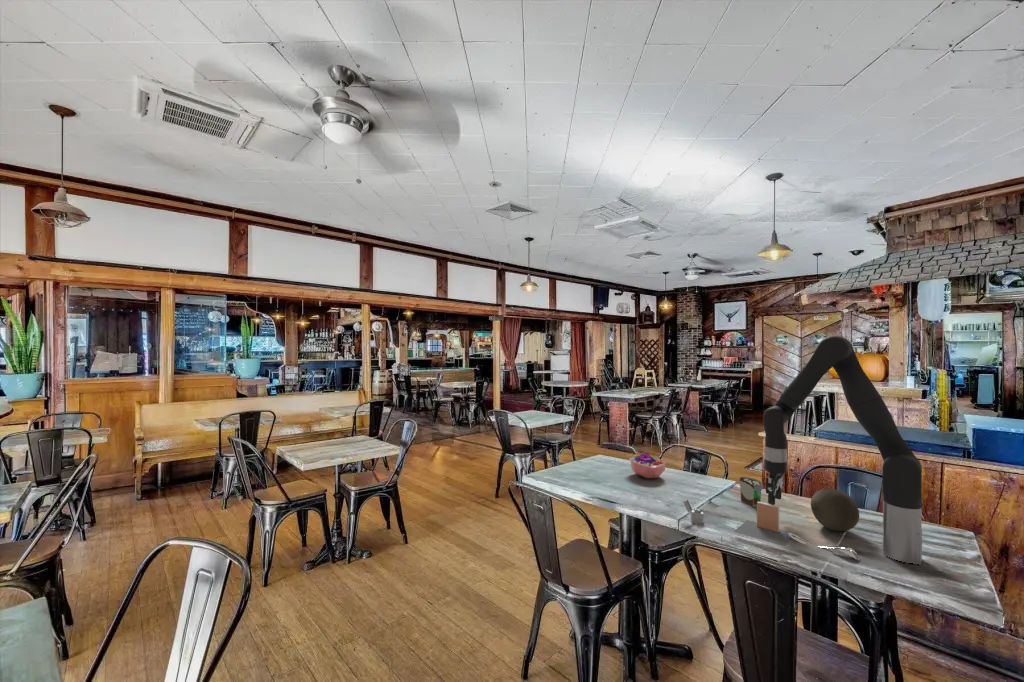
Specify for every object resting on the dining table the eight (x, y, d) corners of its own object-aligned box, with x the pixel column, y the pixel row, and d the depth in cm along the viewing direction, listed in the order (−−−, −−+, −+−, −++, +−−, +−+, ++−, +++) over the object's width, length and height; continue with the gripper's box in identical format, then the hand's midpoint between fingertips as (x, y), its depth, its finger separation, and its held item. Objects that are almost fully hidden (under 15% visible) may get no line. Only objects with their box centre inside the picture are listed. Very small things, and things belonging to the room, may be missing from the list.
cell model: (635, 483, 212) (635, 459, 212) (626, 470, 232) (626, 449, 232) (670, 483, 211) (670, 460, 211) (658, 471, 231) (658, 449, 231)
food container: (769, 509, 178) (769, 485, 178) (754, 509, 178) (755, 485, 178) (752, 498, 191) (753, 476, 191) (739, 498, 191) (739, 476, 191)
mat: (795, 534, 156) (795, 533, 156) (784, 547, 146) (784, 546, 146) (747, 521, 167) (747, 519, 167) (734, 532, 157) (734, 530, 157)
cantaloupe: (816, 519, 169) (816, 481, 169) (862, 531, 158) (862, 490, 158) (806, 530, 159) (806, 489, 159) (854, 543, 149) (854, 500, 149)
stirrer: (786, 529, 151) (790, 525, 154) (785, 539, 151) (789, 535, 154) (858, 554, 136) (861, 549, 139) (857, 565, 136) (860, 560, 139)
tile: (779, 531, 157) (779, 506, 157) (778, 532, 156) (778, 507, 156) (758, 525, 162) (758, 501, 162) (756, 526, 161) (756, 502, 161)
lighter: (703, 523, 165) (703, 502, 165) (702, 525, 163) (702, 504, 163) (684, 519, 169) (684, 498, 169) (683, 520, 168) (683, 499, 168)
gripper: (770, 453, 173) (769, 494, 173) (758, 460, 163) (757, 503, 163) (792, 457, 168) (791, 499, 168) (781, 464, 158) (780, 509, 158)
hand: (774, 501), depth 166 cm, fingers open, 7 cm apart
